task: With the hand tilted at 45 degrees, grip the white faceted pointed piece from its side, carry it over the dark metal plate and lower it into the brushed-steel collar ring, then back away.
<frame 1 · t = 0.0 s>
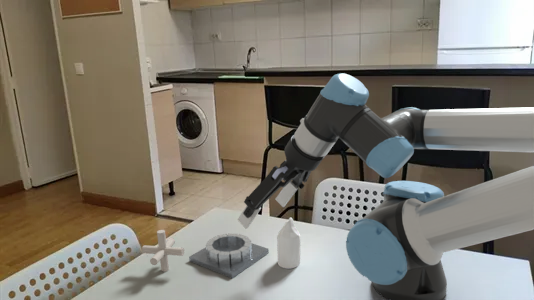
hand: (262, 212, 97), 15 cm above the table, tool tilted 35°, fingers open, 13 cm apart
pipe connector: (165, 270, 105), on the table
collar: (229, 257, 109), on the table
white faceted pointed piece: (289, 263, 106), on the table
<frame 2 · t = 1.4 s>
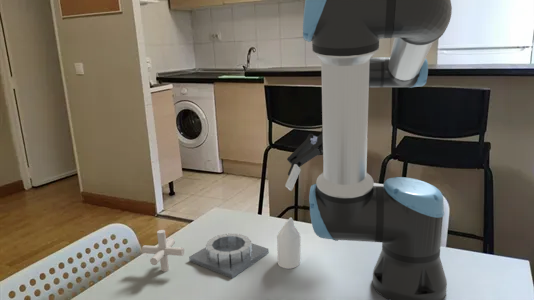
hand: (310, 193, 110), 14 cm above the table, tool tilted 45°, fingers open, 13 cm apart
nothing on the table moved.
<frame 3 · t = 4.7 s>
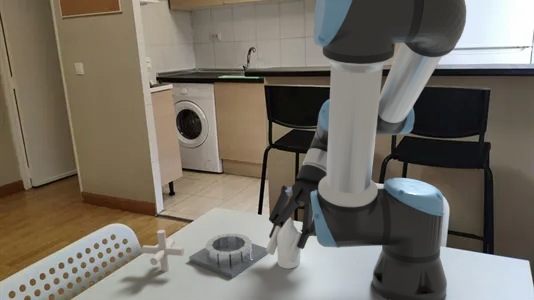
hand: (280, 256, 102), 3 cm above the table, tool tilted 45°, fingers closed on white faceted pointed piece, 5 cm apart
white faceted pointed piece: (289, 263, 106), on the table, touching gripper
everything else where it was.
when the fingers open (6 cm above the table, at t = 9.3 s): white faceted pointed piece drops 2 cm, resting on collar.
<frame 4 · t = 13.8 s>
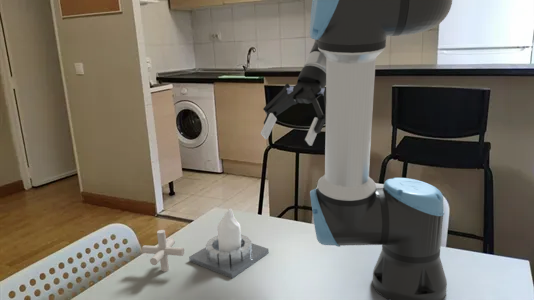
hand: (285, 139, 110), 28 cm above the table, tool tilted 45°, fingers open, 13 cm apart
white faceted pointed piece: (230, 253, 109), point 1 cm above the table, touching collar
everything else where it was.
at the end: white faceted pointed piece 0.4 cm off-centre on the collar, point 1.0 cm above the collar's base; white faceted pointed piece tilted 0°; the gripper is holding nothing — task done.
